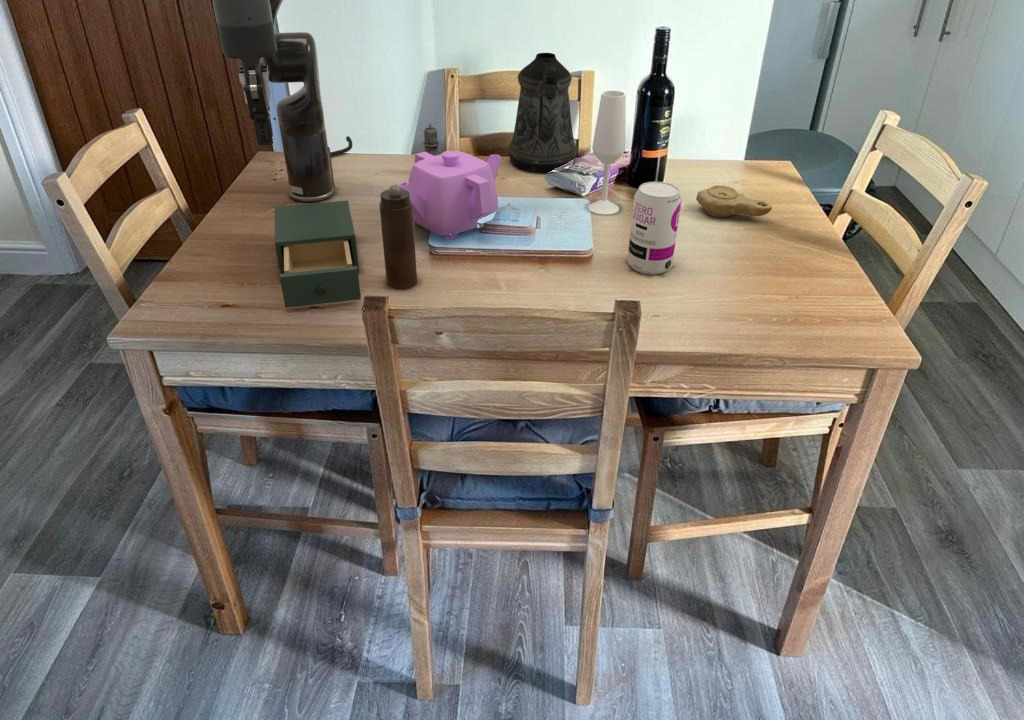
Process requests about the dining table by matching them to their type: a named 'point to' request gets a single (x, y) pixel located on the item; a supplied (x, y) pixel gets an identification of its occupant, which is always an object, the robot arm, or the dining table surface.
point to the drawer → (319, 274)
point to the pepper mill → (398, 238)
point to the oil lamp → (730, 202)
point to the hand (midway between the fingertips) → (265, 140)
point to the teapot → (452, 191)
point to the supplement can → (654, 227)
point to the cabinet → (314, 226)
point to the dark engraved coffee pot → (543, 117)
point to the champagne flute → (609, 142)
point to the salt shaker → (431, 141)
